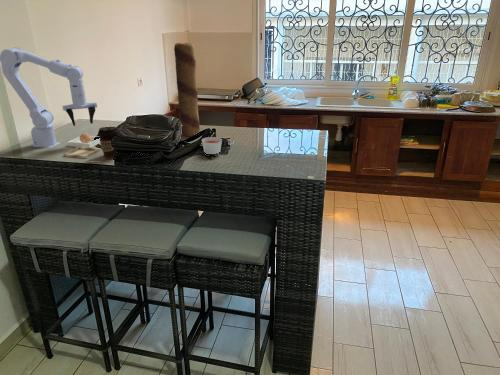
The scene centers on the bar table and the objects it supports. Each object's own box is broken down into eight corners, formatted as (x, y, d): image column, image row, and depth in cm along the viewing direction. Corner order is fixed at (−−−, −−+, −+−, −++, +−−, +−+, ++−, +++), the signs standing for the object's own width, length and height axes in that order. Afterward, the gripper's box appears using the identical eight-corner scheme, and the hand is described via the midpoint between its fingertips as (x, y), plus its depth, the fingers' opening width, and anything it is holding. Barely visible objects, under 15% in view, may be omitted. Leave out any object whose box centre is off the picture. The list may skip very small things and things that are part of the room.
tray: (64, 157, 169) (63, 154, 169) (79, 149, 179) (79, 146, 179) (86, 159, 167) (86, 156, 167) (101, 151, 177) (100, 148, 176)
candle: (211, 158, 171) (211, 144, 168) (198, 153, 177) (197, 140, 174) (226, 153, 177) (226, 140, 175) (212, 149, 183) (212, 136, 180)
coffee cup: (115, 161, 166) (111, 131, 161) (97, 159, 167) (92, 130, 162) (125, 154, 174) (121, 126, 168) (108, 153, 175) (104, 124, 170)
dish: (68, 147, 182) (67, 141, 181) (82, 140, 192) (82, 135, 191) (90, 149, 180) (89, 143, 179) (103, 141, 190) (102, 137, 189)
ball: (78, 144, 184) (76, 134, 182) (84, 141, 189) (82, 131, 187) (87, 145, 183) (86, 135, 181) (93, 142, 188) (92, 132, 186)
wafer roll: (175, 134, 204) (169, 42, 185) (189, 130, 212) (184, 41, 193) (189, 137, 198) (185, 44, 180) (203, 133, 206) (200, 43, 188)
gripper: (62, 97, 170) (67, 128, 175) (96, 94, 177) (101, 124, 183) (59, 95, 175) (65, 124, 181) (93, 92, 182) (97, 120, 188)
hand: (83, 124), depth 182 cm, fingers open, 7 cm apart
